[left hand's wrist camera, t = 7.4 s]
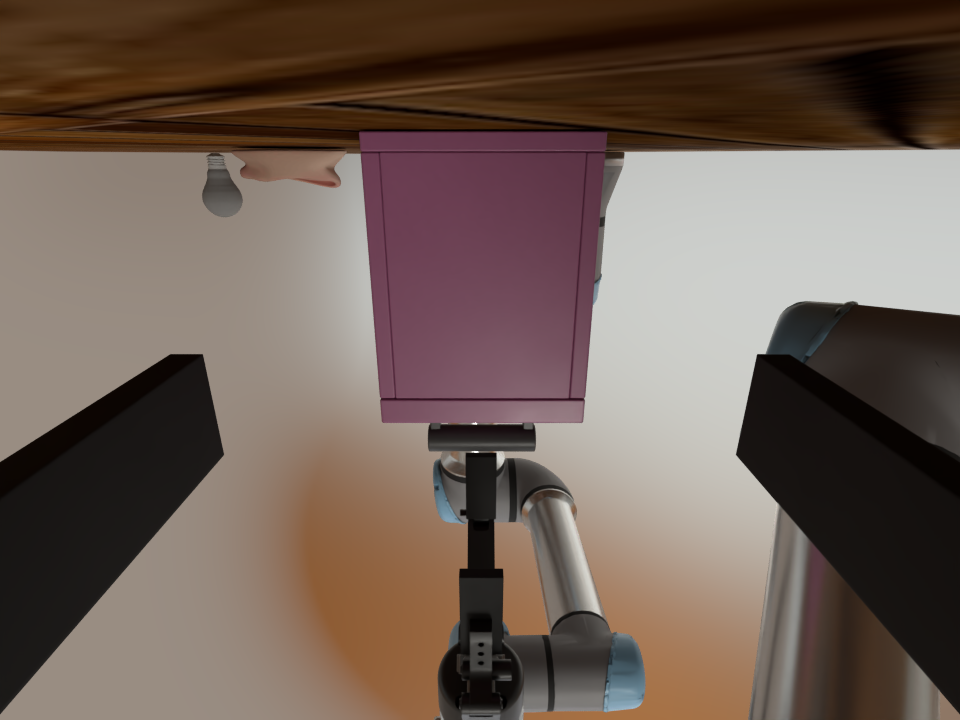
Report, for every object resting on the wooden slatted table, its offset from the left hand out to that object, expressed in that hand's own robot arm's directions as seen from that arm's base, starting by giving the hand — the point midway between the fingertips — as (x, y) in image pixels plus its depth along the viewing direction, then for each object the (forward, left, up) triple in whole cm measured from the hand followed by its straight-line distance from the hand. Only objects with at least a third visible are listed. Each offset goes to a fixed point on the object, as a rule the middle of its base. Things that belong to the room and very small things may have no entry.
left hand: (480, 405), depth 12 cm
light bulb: (-30, +84, -7) cm, 90 cm away
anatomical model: (-22, +45, -7) cm, 50 cm away
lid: (-13, +11, +5) cm, 17 cm away
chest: (-12, +11, -7) cm, 18 cm away
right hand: (-15, +13, +18) cm, 27 cm away
